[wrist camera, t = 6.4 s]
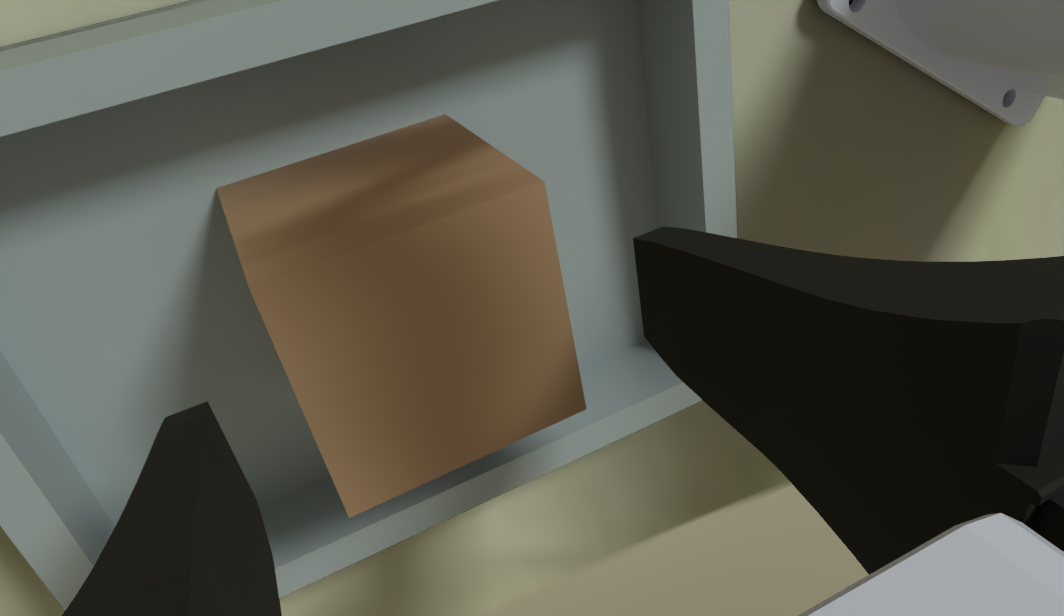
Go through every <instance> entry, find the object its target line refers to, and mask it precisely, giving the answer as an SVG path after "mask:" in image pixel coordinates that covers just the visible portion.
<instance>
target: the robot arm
mask: <svg viewBox="0 0 1064 616" xmlns="http://www.w3.org/2000/svg"><path fill="white" fill-rule="evenodd" d="M817 2H818V5H819V7H820V8H821V9H822V10H823V11H824V12H825V13H827V14H828V15H830V16H832V17H833V18H835V19H837V20H838V21H840V22H842V23H843V24H845V25H847V26H848V27H850V28H851V29H853V30H855V31H856V32H858V33H860V34H861V35H863V36H865V37H866V38H868V39H870V40H871V41H873V42H874V43H876V44H878V45H879V46H881V47H883V48H884V49H886V50H888V51H889V52H891V53H892V54H894V55H896V56H897V57H899V58H901V59H902V60H904V61H906V62H907V63H909V64H911V65H912V66H914V67H915V68H917V69H919V70H920V71H922V72H924V73H925V74H927V75H929V76H930V77H932V78H933V79H935V80H937V81H938V82H940V83H942V84H943V85H945V86H947V87H948V88H950V89H952V90H953V91H955V92H956V93H958V94H960V95H961V96H963V97H965V98H966V99H968V100H970V101H971V102H973V103H974V104H976V105H978V106H979V107H981V108H983V109H984V110H986V111H988V112H989V113H991V114H993V115H994V116H996V117H997V118H999V119H1001V120H1002V121H1004V122H1006V123H1008V124H1012V125H1016V126H1022V125H1025V124H1026V123H1028V122H1029V121H1030V120H1031V119H1032V117H1033V116H1034V115H1035V113H1036V111H1037V110H1038V108H1039V106H1040V104H1041V103H1042V101H1043V99H1044V97H1045V96H1050V97H1054V98H1059V99H1063V100H1064V0H853V1H852V4H851V5H850V6H849V0H817ZM633 244H634V253H635V262H636V270H637V279H638V288H639V297H640V305H641V314H642V323H643V332H644V337H645V338H646V339H647V341H648V342H649V343H650V344H651V346H652V347H653V348H654V350H655V351H656V352H657V353H658V355H659V356H660V357H661V358H662V360H663V361H664V362H665V363H666V364H667V365H668V367H669V368H670V369H671V370H672V371H673V372H674V374H675V375H676V376H677V377H678V378H679V379H680V380H681V381H682V382H684V383H685V384H686V385H687V386H688V387H689V388H690V389H691V390H692V391H693V392H694V393H696V394H697V395H698V396H699V397H700V398H701V399H702V400H703V401H704V402H705V403H707V404H708V405H709V406H710V407H711V408H712V409H713V410H714V411H716V412H717V413H718V414H719V415H720V416H721V417H722V418H723V419H725V420H726V421H727V422H728V423H729V424H730V425H731V426H732V427H734V428H735V429H736V430H737V431H738V432H739V433H740V434H741V435H743V436H744V437H745V438H746V439H747V440H748V441H749V442H750V443H752V444H753V445H754V446H755V447H756V448H757V449H758V450H759V451H761V452H762V453H763V454H764V455H765V456H766V457H767V458H768V459H769V460H770V461H771V462H772V463H773V464H774V465H775V466H776V467H777V468H778V469H779V470H780V471H781V472H782V473H783V474H784V475H785V476H786V477H787V478H788V480H789V481H790V482H791V483H792V484H793V485H794V486H795V487H796V489H797V490H798V491H799V492H800V493H801V494H802V495H803V496H804V497H805V499H806V500H807V501H808V502H809V503H810V504H811V505H812V506H813V507H814V509H815V510H816V511H817V512H818V513H819V514H820V516H821V517H822V518H823V519H824V520H825V521H826V523H827V524H828V525H829V526H830V527H831V528H832V530H833V531H834V532H835V533H836V534H837V536H838V537H839V538H840V539H841V540H842V542H843V543H844V544H845V545H846V546H847V548H848V549H849V550H850V551H851V552H852V554H854V556H855V557H856V559H857V560H858V561H859V562H860V564H861V565H862V566H863V567H864V569H865V570H866V571H867V572H868V574H869V575H868V576H866V577H865V578H863V579H861V580H860V581H858V582H856V583H854V584H852V585H851V586H849V587H847V588H845V589H844V590H842V591H840V592H838V593H837V594H835V595H833V596H832V597H830V598H828V599H826V600H824V601H823V602H821V603H819V604H817V605H816V606H814V607H812V608H810V609H809V610H807V611H805V612H804V613H802V614H800V615H798V616H1064V256H1060V257H1049V258H1035V259H1020V260H1006V261H981V262H917V261H895V260H882V259H868V258H856V257H847V256H838V255H831V254H824V253H817V252H810V251H803V250H797V249H791V248H785V247H779V246H774V245H768V244H763V243H758V242H752V241H747V240H742V239H737V238H732V237H727V236H722V235H717V234H712V233H707V232H701V231H696V230H690V229H684V228H676V227H665V226H663V227H660V228H658V229H655V230H653V231H650V232H647V233H645V234H642V235H640V236H637V237H634V238H633ZM62 616H282V615H281V608H280V601H279V594H278V587H277V580H276V573H275V567H274V560H273V555H272V551H271V548H270V544H269V540H268V537H267V533H266V529H265V526H264V523H263V519H262V516H261V512H260V509H259V505H258V502H257V499H256V497H255V495H254V493H253V491H252V489H251V487H250V485H249V483H248V481H247V479H246V477H245V475H244V473H243V471H242V469H241V467H240V465H239V463H238V461H237V459H236V457H235V455H234V453H233V451H232V449H231V447H230V445H229V443H228V441H227V439H226V437H225V435H224V433H223V431H222V429H221V427H220V425H219V423H218V421H217V419H216V417H215V415H214V413H213V411H212V409H211V407H210V405H209V403H208V401H207V402H204V403H201V404H199V405H196V406H194V407H191V408H188V409H186V410H183V411H181V412H178V413H175V414H173V415H170V416H168V417H165V418H164V420H163V422H162V424H161V426H160V428H159V431H158V433H157V435H156V438H155V440H154V442H153V445H152V447H151V450H150V452H149V454H148V457H147V459H146V461H145V464H144V466H143V468H142V471H141V473H140V475H139V478H138V480H137V482H136V484H135V486H134V489H133V491H132V493H131V495H130V497H129V499H128V501H127V503H126V506H125V508H124V510H123V512H122V514H121V516H120V518H119V520H118V522H117V524H116V526H115V528H114V530H113V532H112V534H111V536H110V537H109V539H108V541H107V543H106V545H105V547H104V548H103V550H102V552H101V554H100V556H99V557H98V559H97V561H96V563H95V565H94V567H93V568H92V570H91V572H90V574H89V575H88V577H87V579H86V580H85V582H84V583H83V585H82V586H81V588H80V590H79V591H78V593H77V594H76V596H75V597H74V599H73V600H72V602H71V603H70V605H69V606H68V608H67V609H66V611H65V612H64V613H63V615H62Z"/></svg>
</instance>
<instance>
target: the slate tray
mask: <svg viewBox="0 0 1064 616" xmlns="http://www.w3.org/2000/svg"><path fill="white" fill-rule="evenodd" d="M444 114H446V115H447V116H449V117H450V118H452V119H453V120H455V121H456V122H458V123H459V124H461V125H462V126H464V127H465V128H467V129H468V130H469V131H471V132H472V133H474V134H475V135H477V136H478V137H480V138H481V139H483V140H484V141H486V142H487V143H489V144H490V145H492V146H493V147H494V148H496V149H497V150H499V151H500V152H502V153H503V154H505V155H506V156H508V157H509V158H511V159H512V160H514V161H515V162H516V163H518V164H519V165H521V166H522V167H524V168H525V169H527V170H528V171H530V172H531V173H533V174H534V175H536V176H537V177H539V178H540V179H541V180H543V181H544V182H545V187H546V192H547V198H548V203H549V209H550V214H551V219H552V225H553V230H554V236H555V241H556V246H557V252H558V257H559V263H560V268H561V273H562V279H563V284H564V290H565V295H566V301H567V306H568V311H569V317H570V322H571V328H572V333H573V338H574V344H575V349H576V355H577V360H578V365H579V371H580V376H581V382H582V387H583V392H584V398H585V403H586V410H584V411H582V412H579V413H577V414H575V415H573V416H571V417H569V418H566V419H564V420H562V421H560V422H558V423H556V424H553V425H551V426H549V427H547V428H545V429H542V430H540V431H538V432H536V433H534V434H532V435H529V436H527V437H525V438H523V439H521V440H518V441H516V442H514V443H512V444H510V445H508V446H505V447H503V448H501V449H499V450H497V451H495V452H492V453H490V454H488V455H486V456H484V457H481V458H479V459H477V460H475V461H473V462H471V463H468V464H466V465H464V466H462V467H460V468H458V469H455V470H453V471H451V472H449V473H447V474H444V475H442V476H440V477H438V478H436V479H434V480H431V481H429V482H427V483H425V484H423V485H420V486H418V487H416V488H414V489H412V490H410V491H407V492H405V493H403V494H401V495H399V496H397V497H394V498H392V499H390V500H388V501H386V502H383V503H381V504H379V505H377V506H375V507H373V508H370V509H368V510H366V511H364V512H362V513H359V514H357V515H355V516H353V517H351V518H349V517H348V514H347V512H346V510H345V507H344V505H343V503H342V501H341V498H340V496H339V494H338V491H337V489H336V487H335V484H334V482H333V480H332V478H331V475H330V473H329V471H328V468H327V466H326V464H325V461H324V459H323V457H322V455H321V452H320V450H319V448H318V445H317V443H316V441H315V439H314V436H313V434H312V432H311V429H310V427H309V425H308V422H307V420H306V418H305V416H304V413H303V411H302V409H301V406H300V404H299V402H298V399H297V397H296V395H295V393H294V390H293V388H292V386H291V383H290V381H289V379H288V377H287V374H286V372H285V370H284V367H283V365H282V363H281V360H280V358H279V356H278V354H277V351H276V349H275V347H274V344H273V342H272V340H271V338H270V335H269V333H268V331H267V328H266V326H265V324H264V321H263V319H262V317H261V315H260V312H259V310H258V308H257V305H256V303H255V301H254V298H253V296H252V294H251V292H250V289H249V286H248V283H247V280H246V277H245V274H244V271H243V268H242V265H241V262H240V259H239V256H238V253H237V250H236V247H235V244H234V241H233V238H232V235H231V232H230V229H229V226H228V223H227V220H226V217H225V214H224V211H223V207H222V204H221V201H220V198H219V195H218V192H217V189H216V188H218V187H221V186H225V185H228V184H231V183H234V182H237V181H240V180H243V179H246V178H249V177H252V176H255V175H259V174H262V173H265V172H268V171H271V170H274V169H277V168H280V167H283V166H286V165H289V164H292V163H296V162H299V161H302V160H305V159H308V158H311V157H314V156H317V155H320V154H323V153H326V152H330V151H333V150H336V149H339V148H342V147H345V146H348V145H351V144H354V143H357V142H360V141H364V140H367V139H370V138H373V137H376V136H379V135H382V134H385V133H388V132H391V131H394V130H397V129H401V128H404V127H407V126H410V125H413V124H416V123H419V122H422V121H425V120H428V119H431V118H435V117H438V116H441V115H444ZM663 226H665V227H676V228H684V229H690V230H696V231H701V232H707V233H712V234H717V235H722V236H727V237H732V238H737V219H736V191H735V163H734V135H733V107H732V79H731V51H730V23H729V0H191V1H187V2H183V3H179V4H175V5H171V6H167V7H163V8H159V9H154V10H150V11H146V12H142V13H138V14H134V15H130V16H126V17H122V18H118V19H114V20H110V21H106V22H101V23H97V24H93V25H89V26H85V27H81V28H77V29H73V30H69V31H65V32H61V33H57V34H52V35H48V36H44V37H40V38H36V39H32V40H28V41H24V42H20V43H16V44H12V45H8V46H3V47H0V526H1V528H2V529H3V530H4V532H5V533H6V534H7V536H8V537H9V538H10V539H11V541H12V542H13V543H14V545H15V546H16V547H17V549H18V550H19V551H20V553H21V554H22V555H23V557H24V558H25V559H26V561H27V562H28V563H29V564H30V566H31V567H32V568H33V570H34V571H35V572H36V574H37V575H38V576H39V578H40V579H41V580H42V582H43V583H44V584H45V586H46V587H47V588H48V589H49V591H50V592H51V593H52V595H53V596H54V597H55V599H56V600H57V601H58V603H59V604H60V605H61V607H62V608H63V609H64V611H66V609H67V608H68V606H69V605H70V603H71V602H72V600H73V599H74V597H75V596H76V594H77V593H78V591H79V590H80V588H81V586H82V585H83V583H84V582H85V580H86V579H87V577H88V575H89V574H90V572H91V570H92V568H93V567H94V565H95V563H96V561H97V559H98V557H99V556H100V554H101V552H102V550H103V548H104V547H105V545H106V543H107V541H108V539H109V537H110V536H111V534H112V532H113V530H114V528H115V526H116V524H117V522H118V520H119V518H120V516H121V514H122V512H123V510H124V508H125V506H126V503H127V501H128V499H129V497H130V495H131V493H132V491H133V489H134V486H135V484H136V482H137V480H138V478H139V475H140V473H141V471H142V468H143V466H144V464H145V461H146V459H147V457H148V454H149V452H150V450H151V447H152V445H153V442H154V440H155V438H156V435H157V433H158V431H159V428H160V426H161V424H162V422H163V420H164V418H165V417H168V416H170V415H173V414H175V413H178V412H181V411H183V410H186V409H188V408H191V407H194V406H196V405H199V404H201V403H204V402H207V401H208V403H209V405H210V407H211V409H212V411H213V413H214V415H215V417H216V419H217V421H218V423H219V425H220V427H221V429H222V431H223V433H224V435H225V437H226V439H227V441H228V443H229V445H230V447H231V449H232V451H233V453H234V455H235V457H236V459H237V461H238V463H239V465H240V467H241V469H242V471H243V473H244V475H245V477H246V479H247V481H248V483H249V485H250V487H251V489H252V491H253V493H254V495H255V497H256V499H257V502H258V505H259V509H260V512H261V516H262V519H263V523H264V526H265V529H266V533H267V537H268V540H269V544H270V548H271V551H272V555H273V560H274V567H275V573H276V580H277V587H278V594H279V598H281V597H283V596H285V595H287V594H289V593H292V592H294V591H296V590H298V589H300V588H302V587H304V586H307V585H309V584H311V583H313V582H315V581H317V580H319V579H321V578H324V577H326V576H328V575H330V574H332V573H334V572H336V571H339V570H341V569H343V568H345V567H347V566H349V565H351V564H354V563H356V562H358V561H360V560H362V559H364V558H366V557H369V556H371V555H373V554H375V553H377V552H379V551H381V550H384V549H386V548H388V547H390V546H392V545H394V544H396V543H398V542H401V541H403V540H405V539H407V538H409V537H411V536H413V535H416V534H418V533H420V532H422V531H424V530H426V529H428V528H431V527H433V526H435V525H437V524H439V523H441V522H443V521H446V520H448V519H450V518H452V517H454V516H456V515H458V514H460V513H463V512H465V511H467V510H469V509H471V508H473V507H475V506H478V505H480V504H482V503H484V502H486V501H488V500H490V499H493V498H495V497H497V496H499V495H501V494H503V493H505V492H508V491H510V490H512V489H514V488H516V487H518V486H520V485H523V484H525V483H527V482H529V481H531V480H533V479H535V478H537V477H540V476H542V475H544V474H546V473H548V472H550V471H552V470H555V469H557V468H559V467H561V466H563V465H565V464H567V463H570V462H572V461H574V460H576V459H578V458H580V457H582V456H585V455H587V454H589V453H591V452H593V451H595V450H597V449H599V448H602V447H604V446H606V445H608V444H610V443H612V442H614V441H617V440H619V439H621V438H623V437H625V436H627V435H629V434H632V433H634V432H636V431H638V430H640V429H642V428H644V427H647V426H649V425H651V424H653V423H655V422H657V421H659V420H661V419H664V418H666V417H668V416H670V415H672V414H674V413H676V412H679V411H681V410H683V409H685V408H687V407H689V406H691V405H694V404H696V403H698V402H700V401H702V399H701V398H700V397H699V396H698V395H697V394H696V393H694V392H693V391H692V390H691V389H690V388H689V387H688V386H687V385H686V384H685V383H684V382H682V381H681V380H680V379H679V378H678V377H677V376H676V375H675V374H674V372H673V371H672V370H671V369H670V368H669V367H668V365H667V364H666V363H665V362H664V361H663V360H662V358H661V357H660V356H659V355H658V353H657V352H656V351H655V350H654V348H653V347H652V346H651V344H650V343H649V342H648V341H647V339H646V338H645V337H644V332H643V323H642V314H641V305H640V297H639V288H638V279H637V270H636V262H635V253H634V244H633V238H634V237H637V236H640V235H642V234H645V233H647V232H650V231H653V230H655V229H658V228H660V227H663Z"/></svg>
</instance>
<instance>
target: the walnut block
mask: <svg viewBox="0 0 1064 616" xmlns="http://www.w3.org/2000/svg"><path fill="white" fill-rule="evenodd" d="M216 189H217V192H218V195H219V198H220V201H221V204H222V207H223V211H224V214H225V217H226V220H227V223H228V226H229V229H230V232H231V235H232V238H233V241H234V244H235V247H236V250H237V253H238V256H239V259H240V262H241V265H242V268H243V271H244V274H245V277H246V280H247V283H248V286H249V289H250V292H251V294H252V296H253V298H254V301H255V303H256V305H257V308H258V310H259V312H260V315H261V317H262V319H263V321H264V324H265V326H266V328H267V331H268V333H269V335H270V338H271V340H272V342H273V344H274V347H275V349H276V351H277V354H278V356H279V358H280V360H281V363H282V365H283V367H284V370H285V372H286V374H287V377H288V379H289V381H290V383H291V386H292V388H293V390H294V393H295V395H296V397H297V399H298V402H299V404H300V406H301V409H302V411H303V413H304V416H305V418H306V420H307V422H308V425H309V427H310V429H311V432H312V434H313V436H314V439H315V441H316V443H317V445H318V448H319V450H320V452H321V455H322V457H323V459H324V461H325V464H326V466H327V468H328V471H329V473H330V475H331V478H332V480H333V482H334V484H335V487H336V489H337V491H338V494H339V496H340V498H341V501H342V503H343V505H344V507H345V510H346V512H347V514H348V517H349V518H351V517H353V516H355V515H357V514H359V513H362V512H364V511H366V510H368V509H370V508H373V507H375V506H377V505H379V504H381V503H383V502H386V501H388V500H390V499H392V498H394V497H397V496H399V495H401V494H403V493H405V492H407V491H410V490H412V489H414V488H416V487H418V486H420V485H423V484H425V483H427V482H429V481H431V480H434V479H436V478H438V477H440V476H442V475H444V474H447V473H449V472H451V471H453V470H455V469H458V468H460V467H462V466H464V465H466V464H468V463H471V462H473V461H475V460H477V459H479V458H481V457H484V456H486V455H488V454H490V453H492V452H495V451H497V450H499V449H501V448H503V447H505V446H508V445H510V444H512V443H514V442H516V441H518V440H521V439H523V438H525V437H527V436H529V435H532V434H534V433H536V432H538V431H540V430H542V429H545V428H547V427H549V426H551V425H553V424H556V423H558V422H560V421H562V420H564V419H566V418H569V417H571V416H573V415H575V414H577V413H579V412H582V411H584V410H586V403H585V398H584V392H583V387H582V382H581V376H580V371H579V365H578V360H577V355H576V349H575V344H574V338H573V333H572V328H571V322H570V317H569V311H568V306H567V301H566V295H565V290H564V284H563V279H562V273H561V268H560V263H559V257H558V252H557V246H556V241H555V236H554V230H553V225H552V219H551V214H550V209H549V203H548V198H547V192H546V187H545V182H544V181H543V180H541V179H540V178H539V177H537V176H536V175H534V174H533V173H531V172H530V171H528V170H527V169H525V168H524V167H522V166H521V165H519V164H518V163H516V162H515V161H514V160H512V159H511V158H509V157H508V156H506V155H505V154H503V153H502V152H500V151H499V150H497V149H496V148H494V147H493V146H492V145H490V144H489V143H487V142H486V141H484V140H483V139H481V138H480V137H478V136H477V135H475V134H474V133H472V132H471V131H469V130H468V129H467V128H465V127H464V126H462V125H461V124H459V123H458V122H456V121H455V120H453V119H452V118H450V117H449V116H447V115H446V114H444V115H441V116H438V117H435V118H431V119H428V120H425V121H422V122H419V123H416V124H413V125H410V126H407V127H404V128H401V129H397V130H394V131H391V132H388V133H385V134H382V135H379V136H376V137H373V138H370V139H367V140H364V141H360V142H357V143H354V144H351V145H348V146H345V147H342V148H339V149H336V150H333V151H330V152H326V153H323V154H320V155H317V156H314V157H311V158H308V159H305V160H302V161H299V162H296V163H292V164H289V165H286V166H283V167H280V168H277V169H274V170H271V171H268V172H265V173H262V174H259V175H255V176H252V177H249V178H246V179H243V180H240V181H237V182H234V183H231V184H228V185H225V186H221V187H218V188H216Z"/></svg>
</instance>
